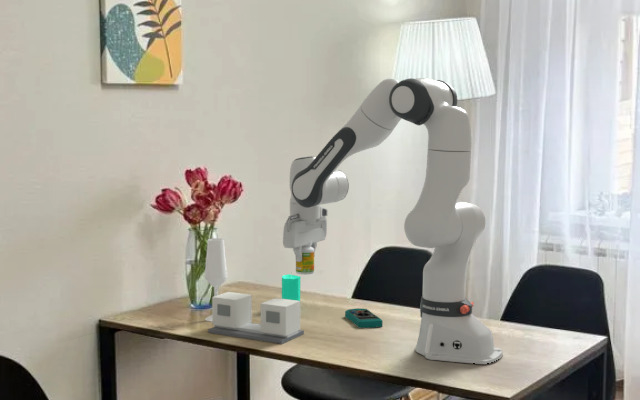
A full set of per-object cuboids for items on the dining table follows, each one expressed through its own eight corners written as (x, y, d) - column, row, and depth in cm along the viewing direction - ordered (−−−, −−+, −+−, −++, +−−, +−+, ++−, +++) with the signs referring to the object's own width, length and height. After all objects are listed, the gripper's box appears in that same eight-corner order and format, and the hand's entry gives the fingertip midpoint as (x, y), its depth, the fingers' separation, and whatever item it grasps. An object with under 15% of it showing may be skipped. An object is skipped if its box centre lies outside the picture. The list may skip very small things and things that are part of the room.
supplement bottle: (302, 275, 259) (302, 242, 258) (292, 272, 264) (292, 239, 263) (317, 273, 262) (317, 240, 261) (307, 270, 267) (307, 238, 266)
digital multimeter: (367, 316, 275) (367, 307, 275) (383, 328, 261) (383, 318, 261) (344, 318, 273) (344, 308, 273) (359, 330, 259) (359, 320, 259)
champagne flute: (211, 322, 264) (211, 242, 261) (200, 318, 269) (200, 239, 267) (231, 319, 268) (231, 240, 265) (220, 315, 273) (220, 237, 271)
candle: (279, 307, 284) (279, 270, 282) (297, 306, 285) (297, 269, 284) (284, 312, 278) (284, 273, 277) (302, 311, 280) (303, 273, 278)
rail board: (303, 334, 252) (303, 299, 251) (281, 344, 242) (282, 308, 241) (232, 323, 264) (232, 290, 262) (208, 332, 253) (208, 298, 252)
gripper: (296, 216, 250) (297, 265, 252) (330, 209, 268) (330, 255, 270) (277, 215, 253) (277, 264, 255) (312, 208, 271) (312, 253, 273)
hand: (305, 259), depth 262 cm, fingers closed on supplement bottle, 5 cm apart
